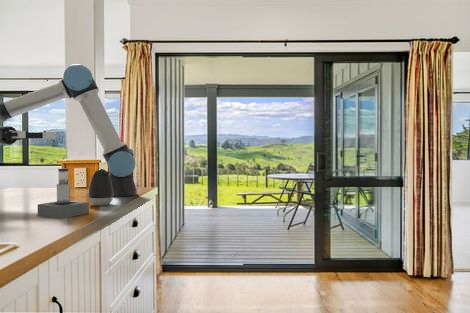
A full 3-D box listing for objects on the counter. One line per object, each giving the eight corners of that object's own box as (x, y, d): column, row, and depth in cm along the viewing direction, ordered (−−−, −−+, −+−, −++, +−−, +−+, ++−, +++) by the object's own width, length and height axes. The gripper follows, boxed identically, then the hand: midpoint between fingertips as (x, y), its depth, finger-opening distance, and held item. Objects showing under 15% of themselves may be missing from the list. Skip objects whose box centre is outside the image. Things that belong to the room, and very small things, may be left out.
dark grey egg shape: (97, 207, 150) (97, 170, 150) (83, 205, 157) (83, 168, 156) (119, 204, 159) (119, 168, 158) (104, 202, 165) (104, 167, 164)
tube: (64, 212, 139) (63, 168, 139) (72, 213, 137) (72, 168, 137) (54, 214, 135) (53, 168, 135) (63, 215, 133) (62, 169, 133)
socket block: (65, 210, 144) (65, 199, 144) (88, 212, 139) (88, 202, 139) (37, 215, 133) (37, 204, 133) (62, 218, 128) (62, 207, 128)
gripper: (30, 144, 166) (66, 144, 158) (-28, 144, 143) (10, 144, 135) (30, 127, 166) (66, 126, 158) (-28, 124, 143) (10, 123, 135)
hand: (40, 134), depth 146 cm, fingers open, 13 cm apart
